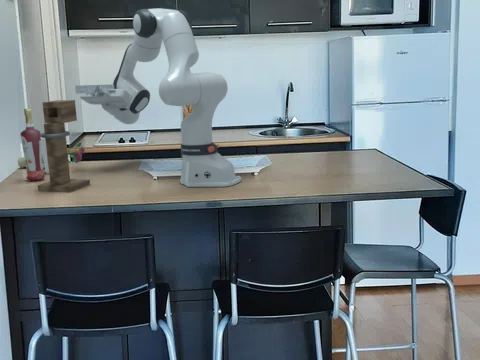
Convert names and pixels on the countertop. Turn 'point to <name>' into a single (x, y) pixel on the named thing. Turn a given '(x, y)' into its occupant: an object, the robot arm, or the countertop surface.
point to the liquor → (32, 149)
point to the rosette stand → (59, 146)
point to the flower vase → (76, 159)
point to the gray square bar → (91, 88)
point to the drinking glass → (44, 154)
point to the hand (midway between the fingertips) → (94, 87)
